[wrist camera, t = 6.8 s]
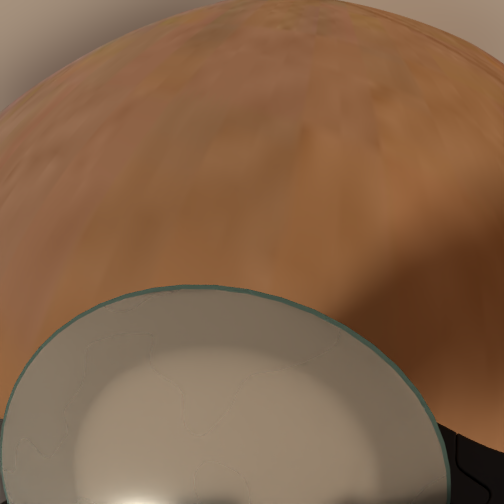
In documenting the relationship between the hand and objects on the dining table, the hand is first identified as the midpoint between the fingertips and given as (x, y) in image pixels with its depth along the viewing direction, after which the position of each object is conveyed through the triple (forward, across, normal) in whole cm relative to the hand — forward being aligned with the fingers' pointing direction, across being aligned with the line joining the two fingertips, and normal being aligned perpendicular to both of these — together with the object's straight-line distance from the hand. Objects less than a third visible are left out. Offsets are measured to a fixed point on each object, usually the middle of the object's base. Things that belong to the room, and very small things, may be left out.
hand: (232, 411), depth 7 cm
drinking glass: (+2, 0, +4) cm, 4 cm away
